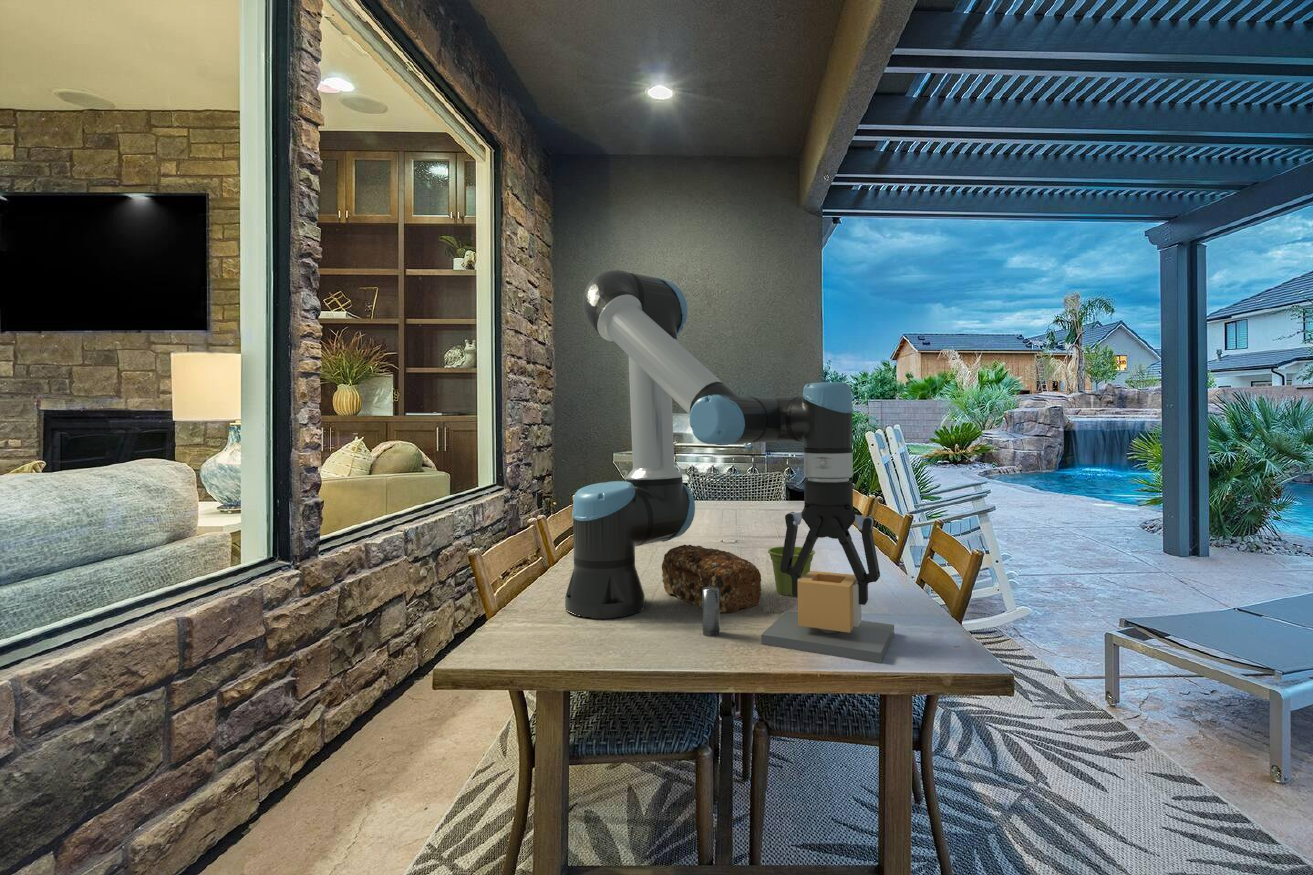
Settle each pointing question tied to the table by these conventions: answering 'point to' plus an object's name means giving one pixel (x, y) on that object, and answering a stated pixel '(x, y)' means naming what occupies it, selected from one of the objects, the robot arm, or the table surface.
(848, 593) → the collar
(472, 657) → the table surface
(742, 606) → the bread
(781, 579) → the plant pot
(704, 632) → the shiny metal cylinder
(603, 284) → the robot arm
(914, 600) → the table surface
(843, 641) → the board
